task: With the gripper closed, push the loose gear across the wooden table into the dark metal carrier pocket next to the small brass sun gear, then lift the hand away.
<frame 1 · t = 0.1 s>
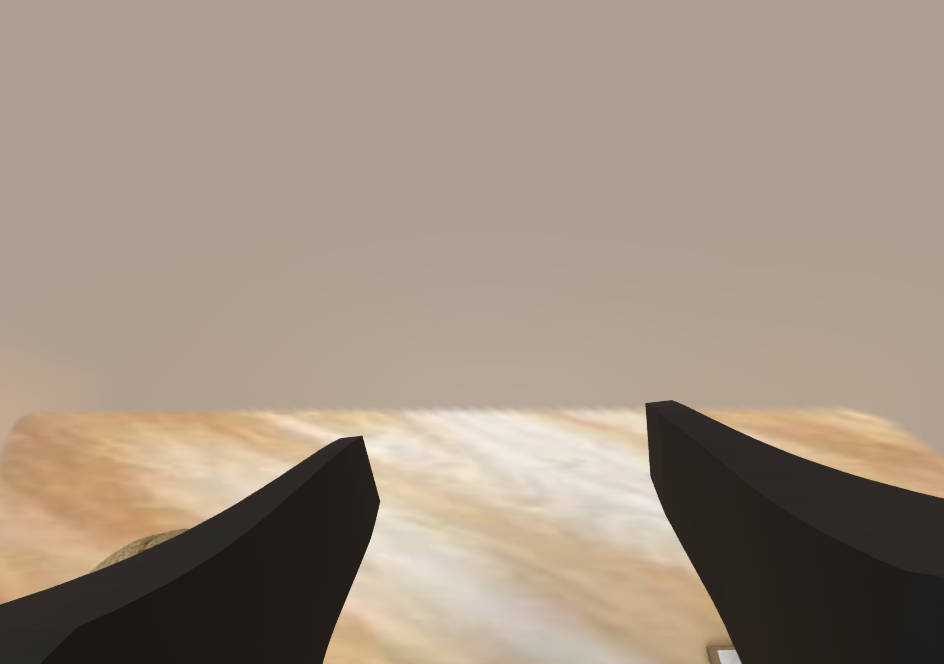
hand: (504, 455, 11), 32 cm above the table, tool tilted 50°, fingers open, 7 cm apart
cantaloupe: (228, 629, 40), on the table
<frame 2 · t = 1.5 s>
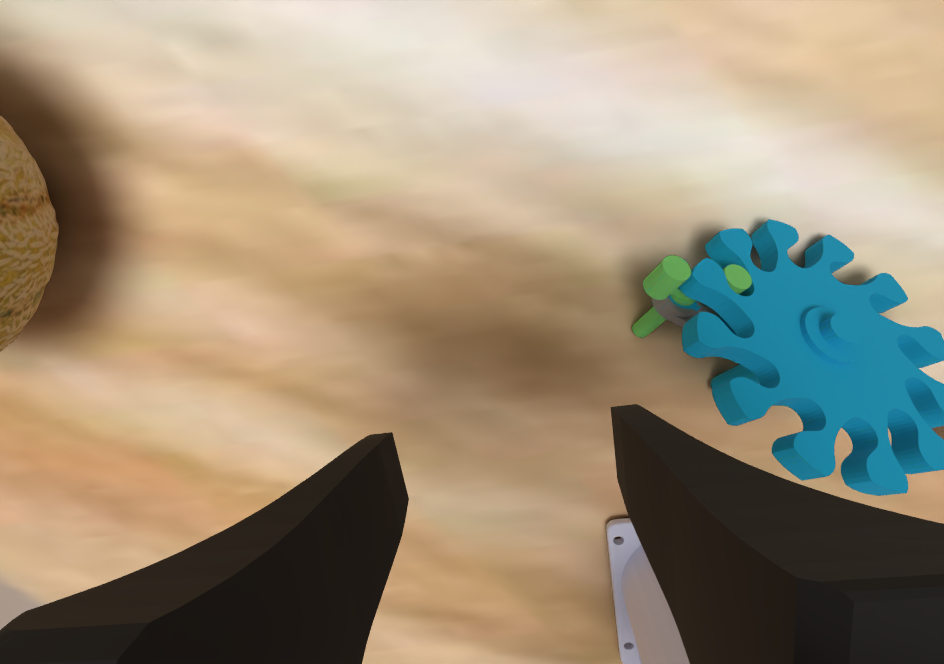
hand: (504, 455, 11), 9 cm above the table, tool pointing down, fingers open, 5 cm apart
gear: (743, 309, 19), on the table
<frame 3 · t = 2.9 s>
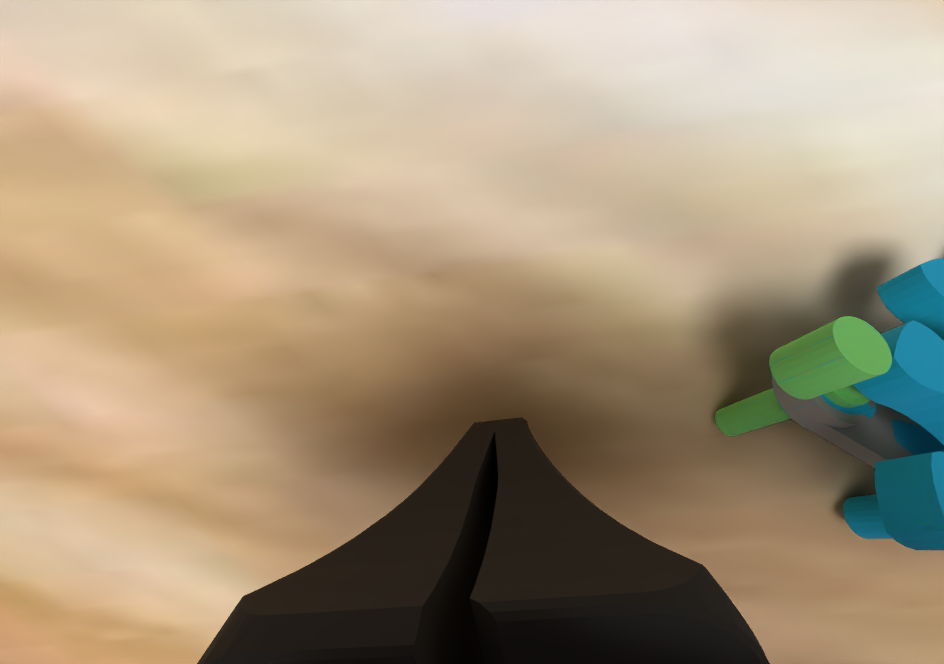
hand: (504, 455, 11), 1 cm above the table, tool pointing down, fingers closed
gear: (906, 390, 11), on the table
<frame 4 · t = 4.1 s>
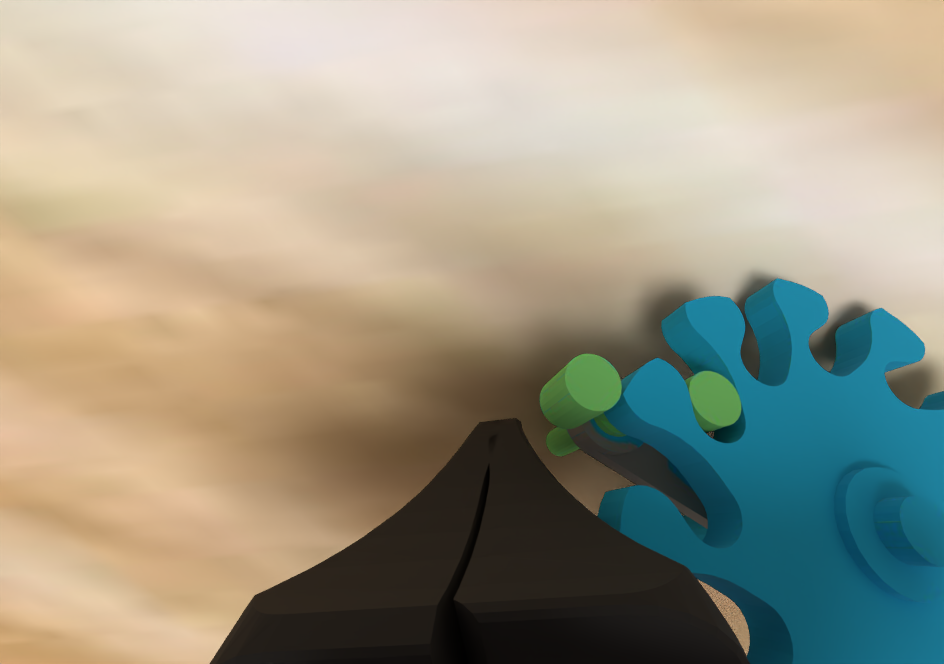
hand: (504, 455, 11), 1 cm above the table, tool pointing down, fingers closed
gear: (728, 415, 12), on the table, touching gripper
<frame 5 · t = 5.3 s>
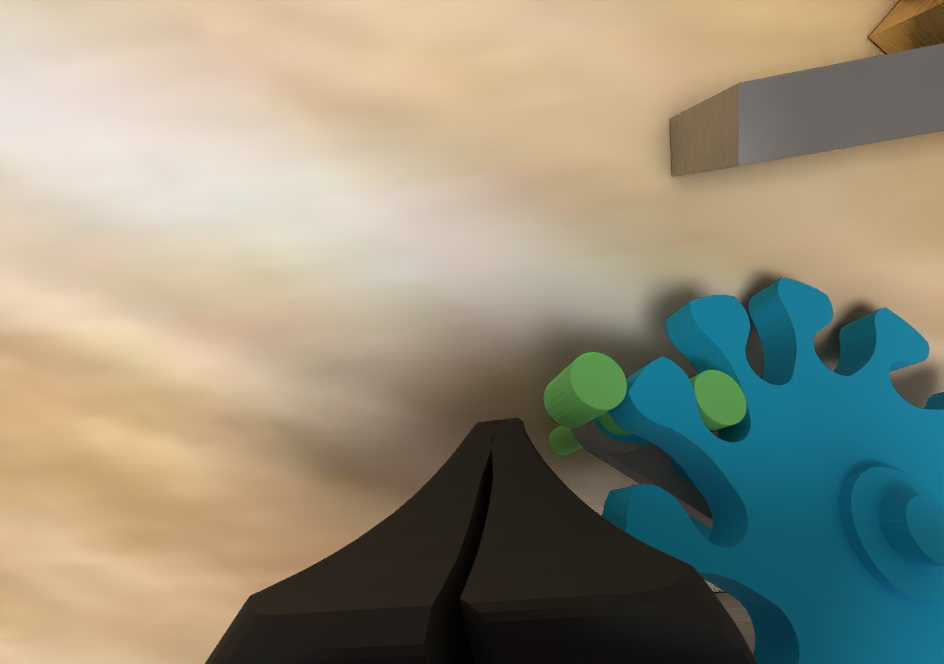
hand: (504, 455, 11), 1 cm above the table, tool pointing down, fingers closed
gear: (731, 414, 12), on the table, touching gripper
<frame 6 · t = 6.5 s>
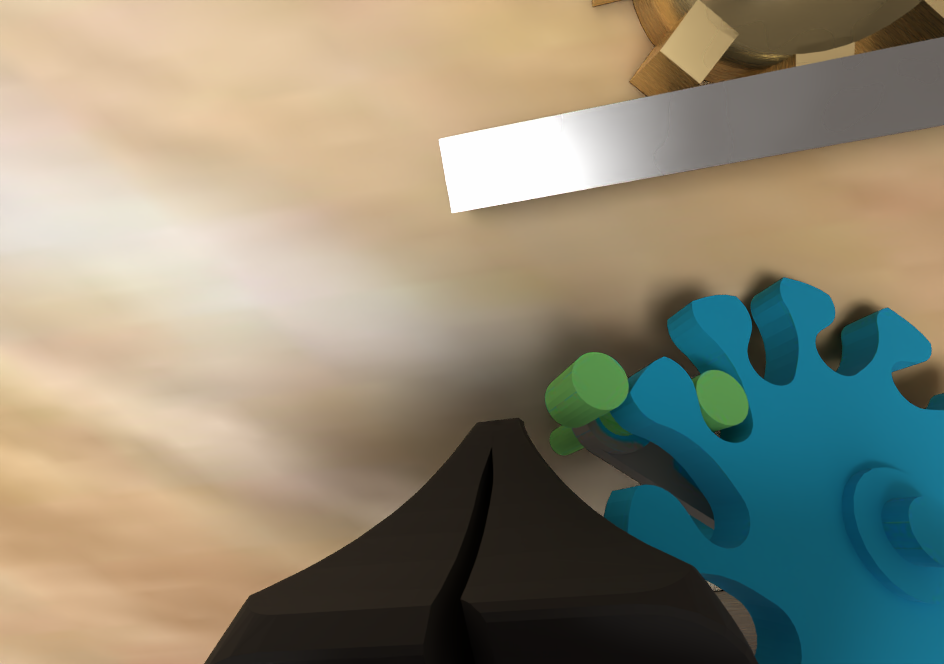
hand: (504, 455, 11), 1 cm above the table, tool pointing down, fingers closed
gear: (732, 414, 12), on the table, touching gripper
carrier pocket: (757, 404, 11), on the table
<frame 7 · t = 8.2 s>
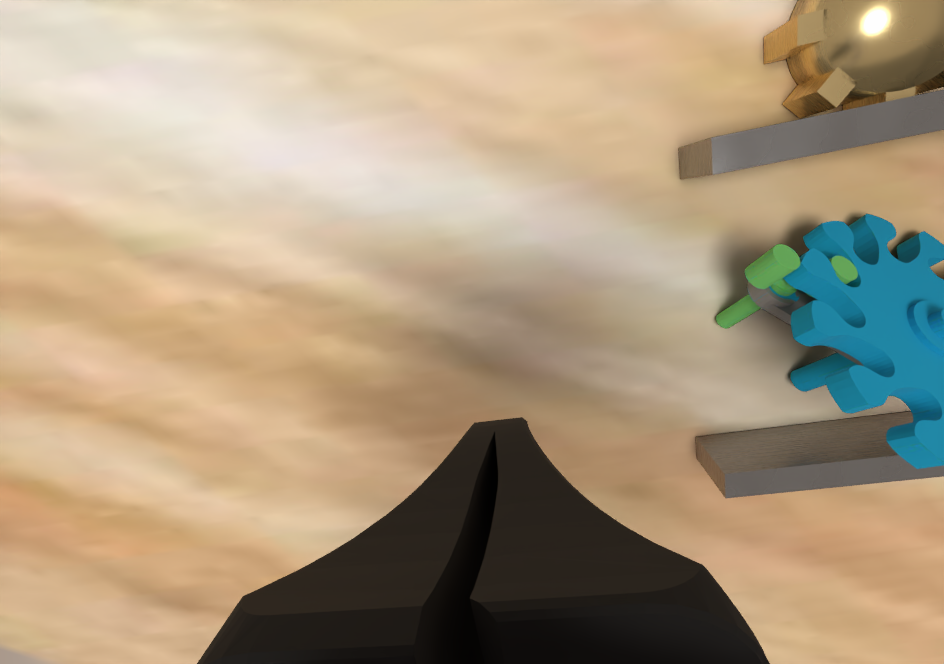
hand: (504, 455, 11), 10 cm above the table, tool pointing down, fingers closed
gear: (827, 303, 19), on the table
carrier pocket: (847, 294, 19), on the table
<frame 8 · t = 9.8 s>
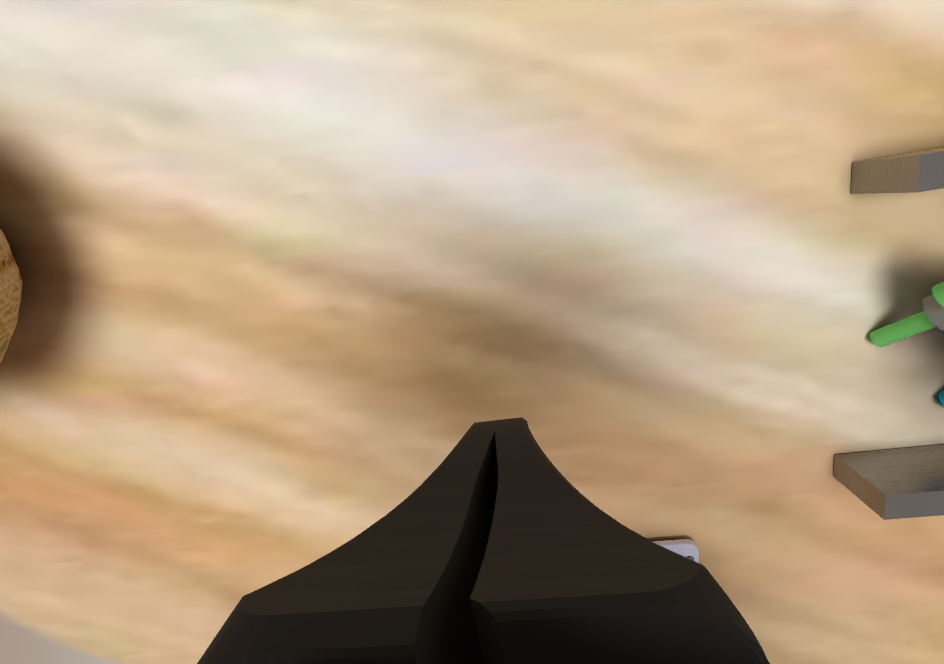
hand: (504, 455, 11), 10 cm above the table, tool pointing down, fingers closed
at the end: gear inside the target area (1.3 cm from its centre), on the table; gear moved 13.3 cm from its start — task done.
